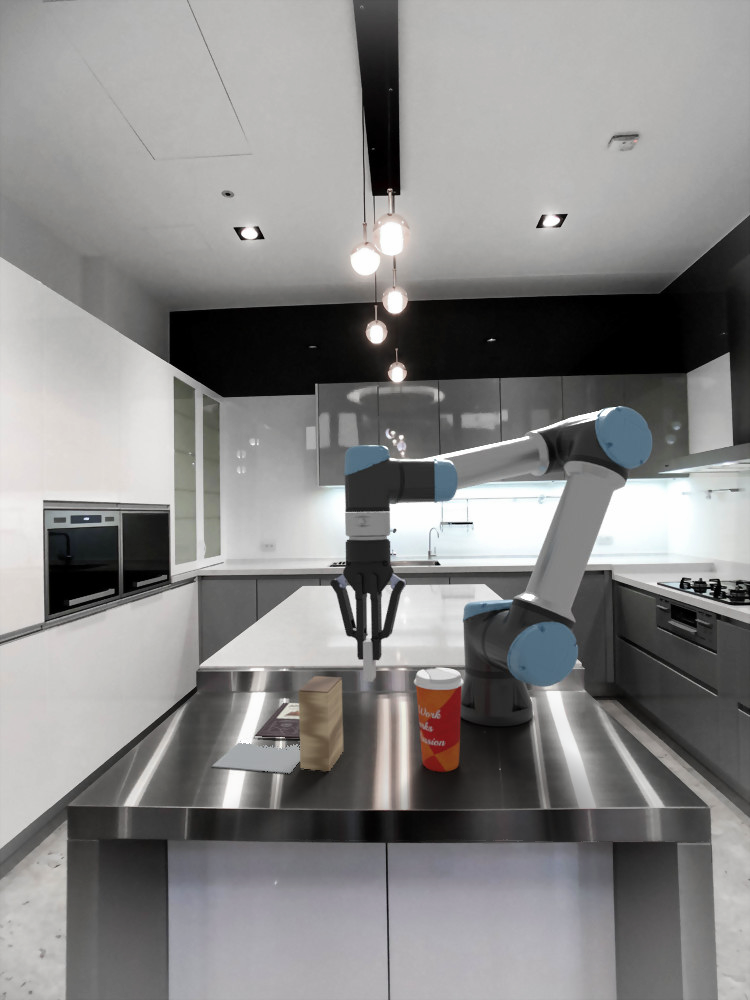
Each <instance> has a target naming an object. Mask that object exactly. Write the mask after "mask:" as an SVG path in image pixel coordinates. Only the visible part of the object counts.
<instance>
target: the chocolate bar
mask: <svg viewBox="0 0 750 1000" xmlns="http://www.w3.org/2000/svg"><path fill="white" fill-rule="evenodd" d="M255 736H262V737H285V738H300V725H299V702H298V703H297V702H283V703H281V705H280V706H279V707H278V708H277V709H276V710H275V712H274V713H273V714H272V715H271V716H270V718H269V719H268V720H267V721H266V722H265V723H264V724H263V725H262V726H261V728H260V729H259V730H258V731H257V732H256V733H255V734H254V737H255Z"/></svg>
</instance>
